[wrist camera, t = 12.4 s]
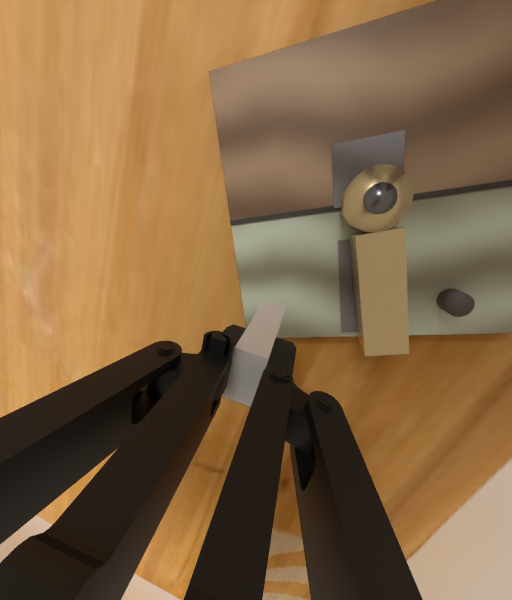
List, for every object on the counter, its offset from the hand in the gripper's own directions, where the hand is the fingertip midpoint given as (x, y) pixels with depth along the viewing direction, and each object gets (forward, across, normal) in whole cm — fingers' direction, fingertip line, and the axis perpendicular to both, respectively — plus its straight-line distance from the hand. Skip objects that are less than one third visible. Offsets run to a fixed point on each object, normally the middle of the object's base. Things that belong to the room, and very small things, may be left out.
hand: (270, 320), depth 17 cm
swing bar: (+6, +6, +5) cm, 10 cm away
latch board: (+8, +4, +9) cm, 12 cm away
